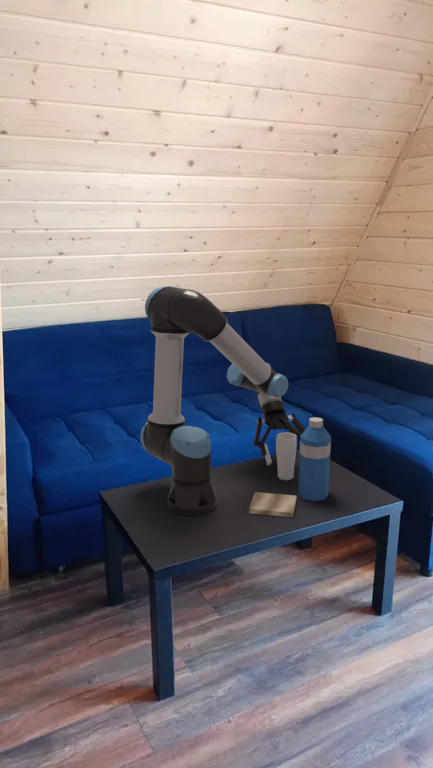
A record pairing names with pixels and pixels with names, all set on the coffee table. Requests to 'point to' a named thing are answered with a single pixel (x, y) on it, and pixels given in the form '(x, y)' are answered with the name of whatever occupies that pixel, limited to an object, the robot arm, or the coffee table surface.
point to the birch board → (273, 504)
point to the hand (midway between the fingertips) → (288, 461)
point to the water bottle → (314, 461)
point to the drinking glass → (286, 455)
